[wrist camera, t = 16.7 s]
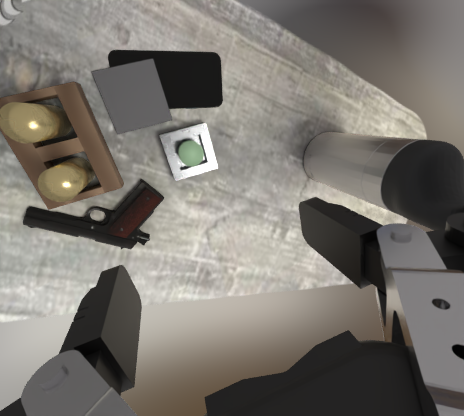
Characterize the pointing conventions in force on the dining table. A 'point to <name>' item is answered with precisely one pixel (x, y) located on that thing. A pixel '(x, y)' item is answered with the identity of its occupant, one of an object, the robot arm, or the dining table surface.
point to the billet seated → (66, 179)
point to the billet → (33, 122)
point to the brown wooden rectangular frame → (67, 142)
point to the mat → (133, 95)
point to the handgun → (113, 228)
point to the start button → (190, 153)
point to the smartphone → (181, 75)
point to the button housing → (176, 137)
